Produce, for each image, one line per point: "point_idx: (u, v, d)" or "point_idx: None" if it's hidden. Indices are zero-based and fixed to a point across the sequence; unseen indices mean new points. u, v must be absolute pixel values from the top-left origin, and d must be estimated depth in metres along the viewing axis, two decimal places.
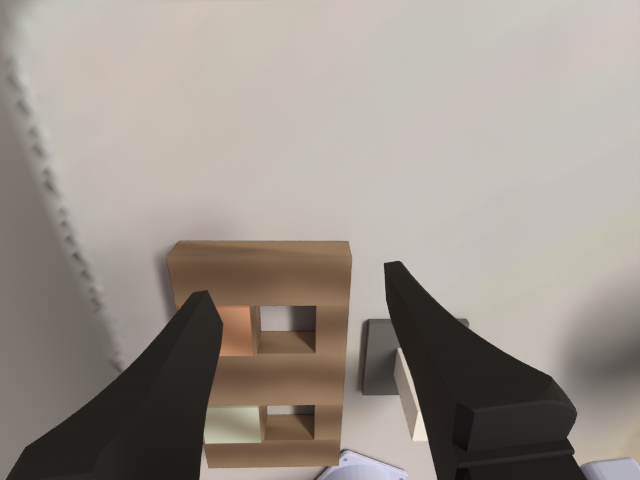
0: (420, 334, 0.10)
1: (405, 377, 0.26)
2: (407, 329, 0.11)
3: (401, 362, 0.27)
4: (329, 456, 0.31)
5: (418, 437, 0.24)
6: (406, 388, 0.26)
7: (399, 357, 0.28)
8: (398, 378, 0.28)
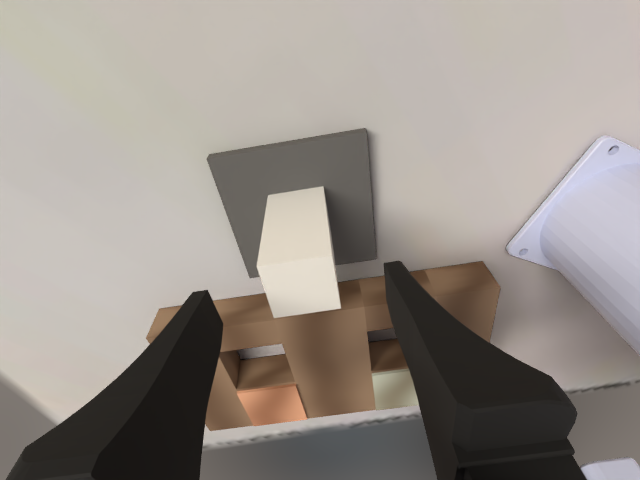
0: (420, 334, 0.10)
1: None
2: (407, 329, 0.11)
3: None
4: (474, 301, 0.21)
5: (331, 303, 0.15)
6: None
7: None
8: None
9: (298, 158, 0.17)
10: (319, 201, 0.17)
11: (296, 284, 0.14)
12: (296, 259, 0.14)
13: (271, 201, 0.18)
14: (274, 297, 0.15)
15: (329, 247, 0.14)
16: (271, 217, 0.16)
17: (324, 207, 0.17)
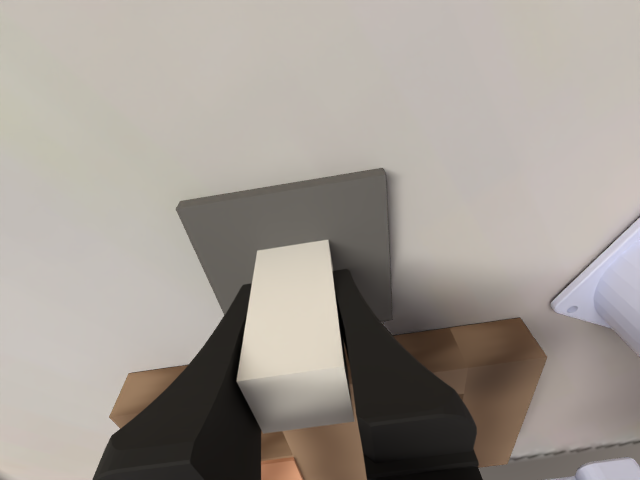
0: (347, 344, 0.10)
1: None
2: (345, 338, 0.11)
3: None
4: (514, 372, 0.17)
5: (341, 416, 0.11)
6: None
7: None
8: None
9: (296, 207, 0.13)
10: (324, 265, 0.13)
11: (293, 398, 0.10)
12: (293, 370, 0.10)
13: (261, 261, 0.14)
14: (263, 413, 0.11)
15: (339, 350, 0.10)
16: (260, 289, 0.12)
17: (330, 275, 0.12)
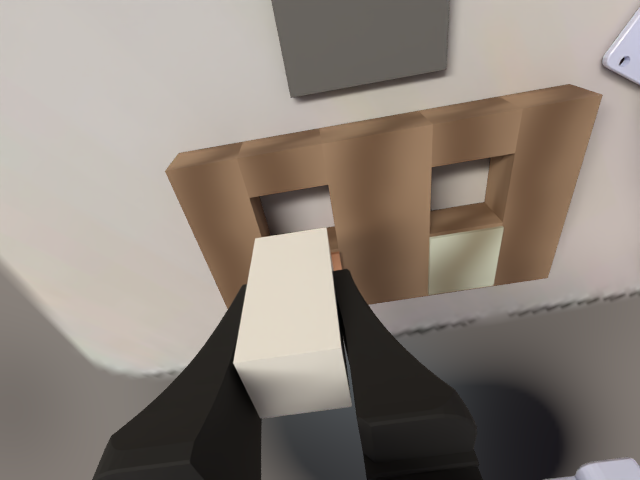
0: (347, 344, 0.10)
1: None
2: (345, 338, 0.11)
3: None
4: (567, 118, 0.17)
5: (338, 401, 0.11)
6: None
7: None
8: None
9: None
10: (322, 252, 0.13)
11: (290, 382, 0.10)
12: (290, 352, 0.09)
13: (259, 248, 0.14)
14: (260, 396, 0.10)
15: (337, 332, 0.10)
16: (258, 275, 0.12)
17: (328, 261, 0.12)
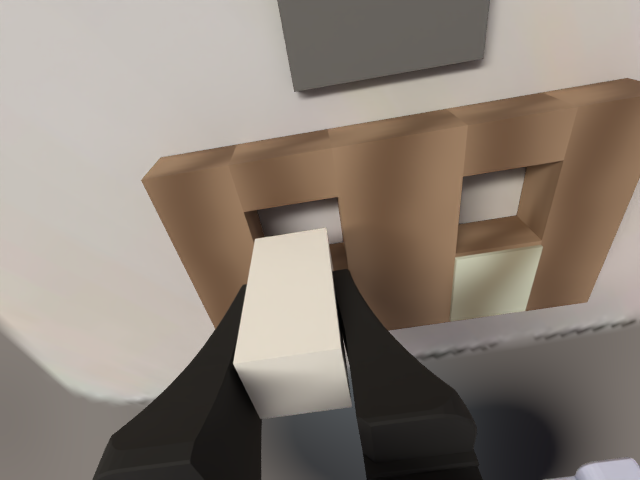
0: (347, 344, 0.10)
1: None
2: (345, 338, 0.11)
3: None
4: (630, 119, 0.14)
5: (338, 401, 0.11)
6: None
7: None
8: None
9: None
10: (321, 252, 0.13)
11: (291, 382, 0.10)
12: (290, 352, 0.10)
13: (259, 249, 0.14)
14: (260, 397, 0.10)
15: (337, 333, 0.10)
16: (257, 275, 0.12)
17: (328, 261, 0.12)
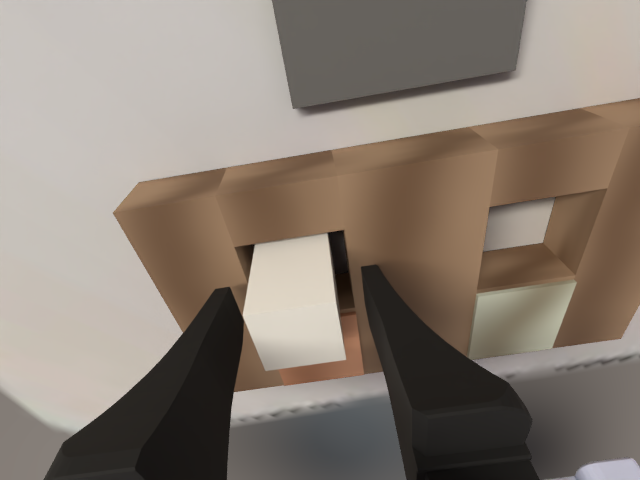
0: (387, 339, 0.10)
1: None
2: (379, 333, 0.11)
3: None
4: None
5: (334, 354, 0.12)
6: None
7: None
8: None
9: None
10: None
11: (292, 334, 0.12)
12: (292, 306, 0.11)
13: None
14: (265, 349, 0.12)
15: (332, 290, 0.11)
16: (262, 247, 0.14)
17: (325, 234, 0.14)
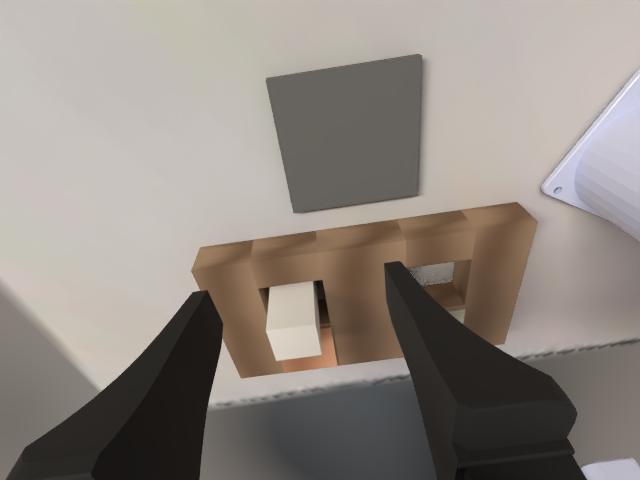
0: (420, 334, 0.10)
1: None
2: (407, 329, 0.11)
3: None
4: (511, 236, 0.22)
5: (315, 351, 0.22)
6: None
7: None
8: None
9: (353, 82, 0.18)
10: None
11: (292, 341, 0.21)
12: (292, 325, 0.21)
13: None
14: (277, 348, 0.22)
15: (314, 317, 0.21)
16: (274, 288, 0.24)
17: (311, 281, 0.24)
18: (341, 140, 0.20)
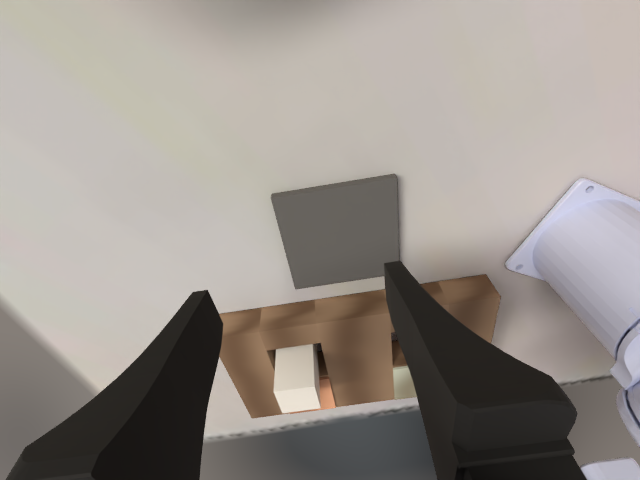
0: (420, 334, 0.10)
1: None
2: (407, 329, 0.11)
3: None
4: (479, 308, 0.26)
5: (315, 406, 0.26)
6: None
7: None
8: None
9: (342, 197, 0.22)
10: None
11: (295, 398, 0.26)
12: (295, 387, 0.25)
13: None
14: (282, 404, 0.26)
15: (313, 379, 0.25)
16: (280, 349, 0.28)
17: None
18: (334, 237, 0.24)
